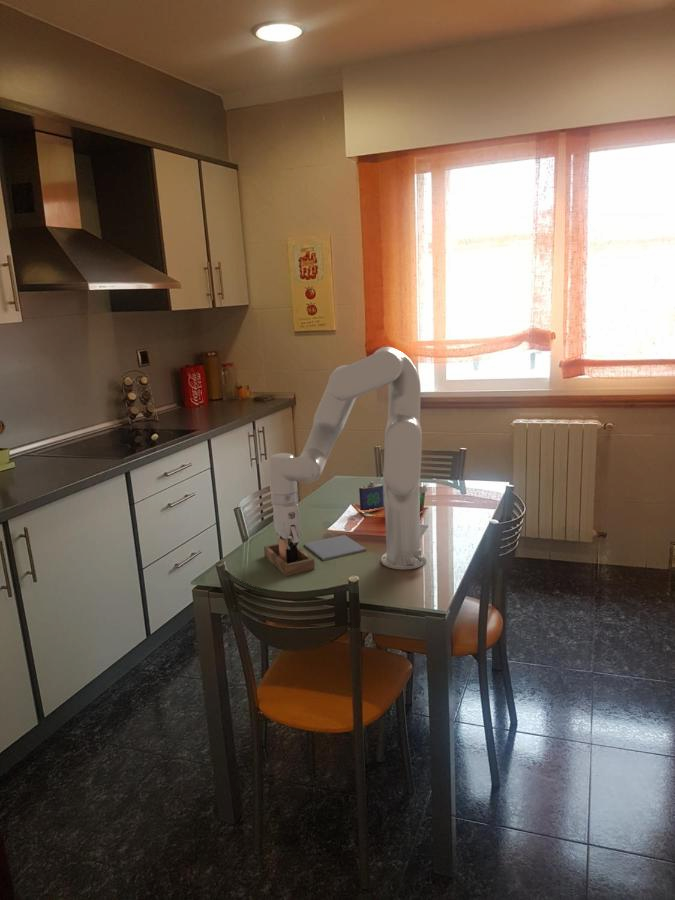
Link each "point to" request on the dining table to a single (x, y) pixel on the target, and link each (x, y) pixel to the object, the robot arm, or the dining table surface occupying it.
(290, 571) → the pocket frame
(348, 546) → the rubber mat
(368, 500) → the flask
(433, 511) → the dining table surface
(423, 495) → the food container
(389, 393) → the robot arm
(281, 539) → the clay cylinder
